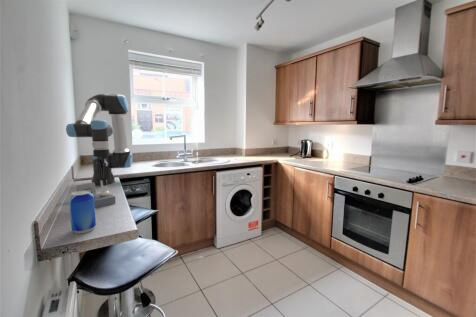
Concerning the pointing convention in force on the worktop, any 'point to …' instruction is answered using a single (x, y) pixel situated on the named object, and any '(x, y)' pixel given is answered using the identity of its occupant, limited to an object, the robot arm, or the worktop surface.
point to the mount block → (103, 200)
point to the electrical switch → (87, 187)
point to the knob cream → (104, 193)
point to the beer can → (82, 211)
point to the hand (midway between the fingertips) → (104, 190)
